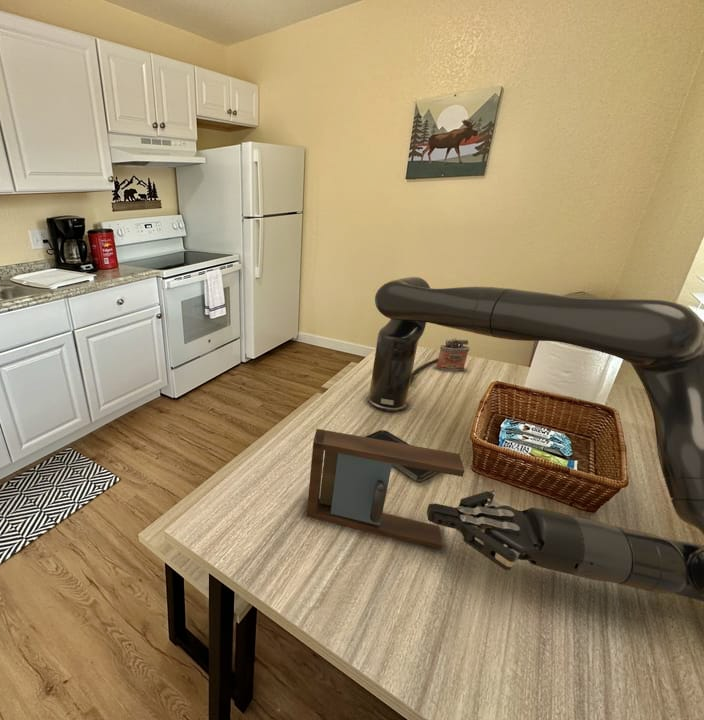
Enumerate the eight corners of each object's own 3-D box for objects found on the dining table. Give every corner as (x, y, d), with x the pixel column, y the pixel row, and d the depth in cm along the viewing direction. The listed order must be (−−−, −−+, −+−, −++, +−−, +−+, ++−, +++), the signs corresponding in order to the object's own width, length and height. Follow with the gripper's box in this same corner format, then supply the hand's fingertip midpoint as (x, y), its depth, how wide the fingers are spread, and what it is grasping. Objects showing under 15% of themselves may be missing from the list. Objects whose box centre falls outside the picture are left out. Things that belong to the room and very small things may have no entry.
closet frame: (309, 500, 71) (316, 428, 64) (437, 531, 64) (459, 453, 58) (306, 516, 67) (313, 442, 61) (441, 550, 61) (464, 470, 54)
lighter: (437, 370, 119) (444, 340, 115) (434, 366, 122) (440, 336, 118) (465, 372, 118) (473, 341, 114) (461, 367, 121) (468, 337, 117)
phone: (383, 428, 89) (444, 465, 77) (382, 433, 90) (443, 469, 78) (359, 439, 86) (419, 478, 74) (358, 443, 86) (418, 483, 74)
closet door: (331, 509, 67) (338, 449, 62) (380, 521, 64) (392, 459, 59) (328, 526, 64) (336, 463, 58) (380, 539, 61) (393, 475, 56)
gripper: (560, 489, 56) (428, 464, 61) (607, 566, 44) (439, 527, 50) (544, 527, 59) (419, 500, 64) (583, 608, 47) (428, 567, 53)
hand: (428, 512), depth 57 cm, fingers closed
